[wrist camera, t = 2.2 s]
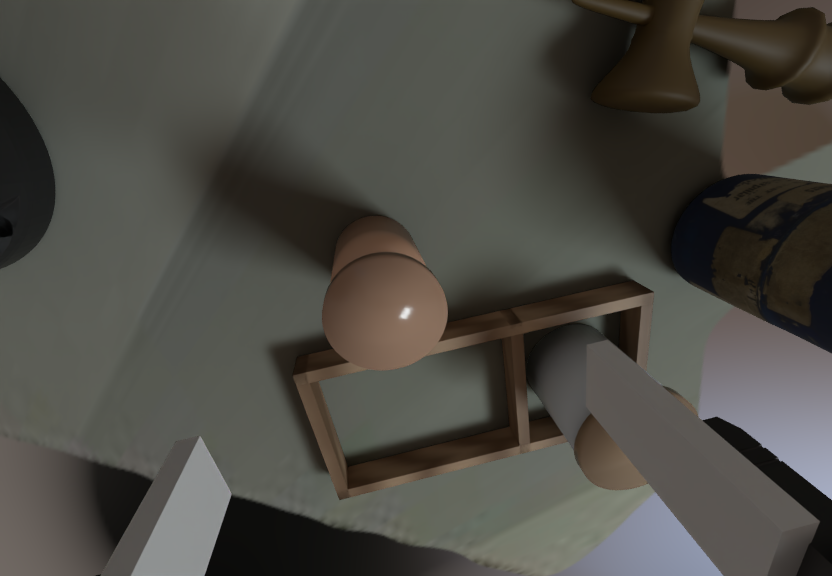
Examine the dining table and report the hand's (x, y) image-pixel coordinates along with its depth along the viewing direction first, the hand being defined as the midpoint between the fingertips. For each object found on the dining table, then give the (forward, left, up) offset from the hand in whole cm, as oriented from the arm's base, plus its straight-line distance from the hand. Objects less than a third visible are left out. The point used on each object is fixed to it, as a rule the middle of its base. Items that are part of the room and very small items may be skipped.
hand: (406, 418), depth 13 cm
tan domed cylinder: (0, 0, -17) cm, 17 cm away
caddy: (+7, -14, -17) cm, 23 cm away
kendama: (+23, +10, -18) cm, 31 cm away
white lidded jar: (+15, -14, -17) cm, 27 cm away
